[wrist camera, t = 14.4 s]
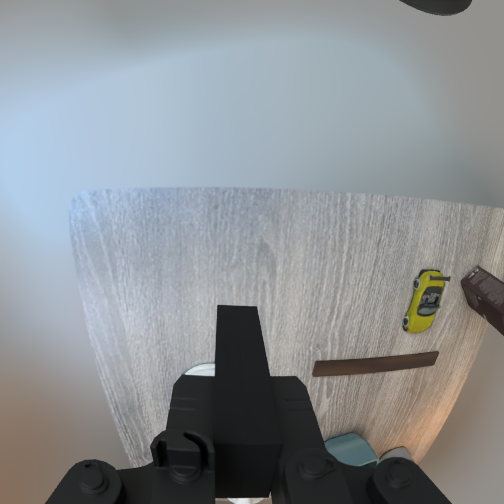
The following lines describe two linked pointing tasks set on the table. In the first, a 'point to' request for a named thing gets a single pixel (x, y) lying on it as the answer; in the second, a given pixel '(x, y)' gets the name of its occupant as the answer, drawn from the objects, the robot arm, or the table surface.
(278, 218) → the table surface
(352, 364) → the ruler
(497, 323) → the box
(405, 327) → the sports car
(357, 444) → the flower pot
